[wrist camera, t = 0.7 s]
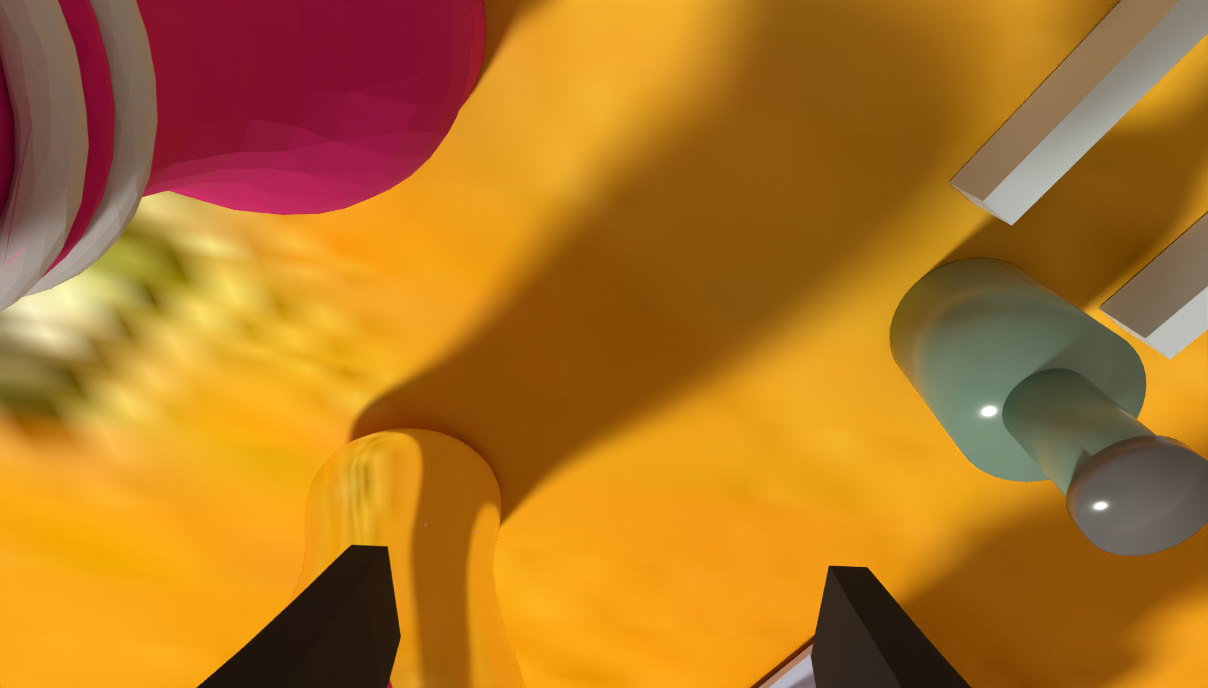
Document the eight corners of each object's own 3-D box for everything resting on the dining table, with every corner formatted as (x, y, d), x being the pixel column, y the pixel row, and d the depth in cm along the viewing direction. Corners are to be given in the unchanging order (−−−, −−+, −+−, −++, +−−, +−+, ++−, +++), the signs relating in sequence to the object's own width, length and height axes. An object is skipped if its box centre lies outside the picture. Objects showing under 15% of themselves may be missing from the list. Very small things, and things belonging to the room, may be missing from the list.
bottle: (1073, 313, 20) (1326, 488, 13) (959, 414, 21) (1126, 622, 14) (970, 227, 19) (1178, 363, 12) (858, 340, 20) (982, 521, 13)
